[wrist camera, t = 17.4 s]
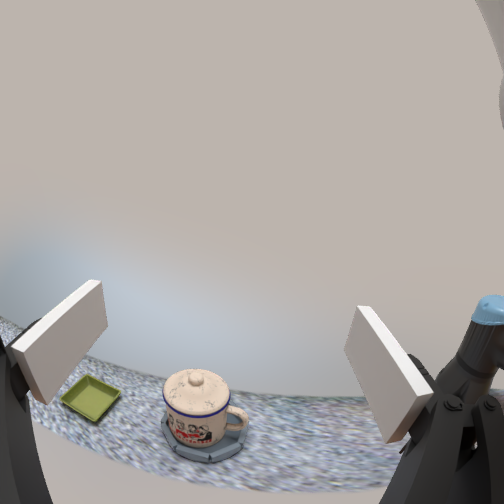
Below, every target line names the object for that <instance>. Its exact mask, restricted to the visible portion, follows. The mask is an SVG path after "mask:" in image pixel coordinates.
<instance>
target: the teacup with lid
mask: <svg viewBox="0 0 504 504" xmlns="http://www.w3.org/2000/svg"><path fill="white" fill-rule="evenodd" d="M163 398H164V401H165V403H166V408H167V415H168V421H169V427H170V431H171V433H172V435H173V436H174V437H175V438H176V439H177V440H178V441H179V442H181V443H182V444H184V445H187V446H190V447H195V448H204V447H209V446H212V445H214V444H216V443H217V442H219V441H220V440H221V439H222V438H223V436H224V434H225V431H226V430H230V431H239V430H242V429H243V428H245V427H246V426H247V424H248V421H249V417H248V414H247V413H246V412H245V411H243V410H242V409H240V408H237V407H234V406H230V405H228V403H229V401H230V390H229V388H228V386H227V384H226V382H225V381H224V380H223V379H222V378H221V377H219V376H218V375H216V374H214V373H212V372H210V371H207V370H202V369H187V370H182V371H179V372H177V373H175V374H173V375H172V376H171V377H170V378H169V379H168V380H167V381H166V383H165V385H164V387H163ZM227 413H230V414H233V415H236V416H238V417H240V418H241V419H242V422H241V423H238V424H232V423H227V422H226V420H227Z"/></svg>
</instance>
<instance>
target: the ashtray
mask: <svg viewBox="0 0 504 504" xmlns="http://www.w3.org/2000/svg"><path fill="white" fill-rule="evenodd" d="M228 405H230V406H234V407H237V408H239V407H238V406H237V405H236V404H235V403H234V402H233V401H230V402H229V403H228ZM226 422H227V423H232V424H238V423H241V422H242V419H241V418H240V417H238V416H236V415H233V414H230V413H227V420H226ZM248 425H249V421H248V424H247V426H246V427H245V428H243V429H242V430H239V431H230V430H226V431H225V434H224V436H223V438H222V439H221V440H220V441H219V442H217V443H216V444H214V445H212V446H209V447H204V448H195V447H190V446H187V445H184V444H182V443H181V442H179V441H178V440H177V439H176V438H175V437H174V436H173V435H172V433H171V431H170V427H169V421H168V415H167V411H166V413H165V414H164V416H163V418H162V419H161V428H162V431H163V433H164V434H165V436H166V439H167V441H168V443H169V445H170V446H171V447H172V449H173V450H174V451H176V452H177V454H180V455H181V456H183V457H185V458H187V459H190V460H192V461H197V462H203V463H211V462H218V461H222V460H225V459H227V458H229V457H231V456H233V455H234V454H236V453H237V452H238V451H240V449H241V448H243V444H244V441H245V437H246V433H247V429H248Z"/></svg>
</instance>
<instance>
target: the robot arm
mask: <svg viewBox="0 0 504 504" xmlns="http://www.w3.org/2000/svg"><path fill="white" fill-rule="evenodd" d="M475 1H476V3H477V5H478V7H479V9H480V11H481V13H482V16H483V18H484V20H485V22H486V25H487V27H488V30H489V32H490V34H491V37H492V39H493V42H494V45H495V48H496V51H497V54H498V57H499V60H500V63H501V67H502V70H503V74H504V0H475ZM499 107H500V115H501V120H502V124H503V128H504V76H503V79H502V82H501V86H500V94H499ZM471 319H472V320H471V323H470V325H469V328H468V330H467V332H466V334H465V336H464V339H463V341H462V343H461V345H460V347H459V349H458V352H457V353H456V355H455V357H454V358H453V359H452V360H451V361H450V362H449V363H448V364H447V365H446V366H445V368H443V369H442V370H441V371H440V372H439V374H438V376H437V377H436V379H435V381H434V380H433V378H432V377H431V375H429V373H428V371H427V370H426V369H424V366H423V365H422V363H421V362H420V361H419V360H418V359H417V358H415V357H414V356H413V355H411V354H406V353H405V351H404V350H403V349H402V347H401V346H400V345H399V343H398V342H397V341H396V339H395V338H394V337H393V335H392V334H391V333H390V331H389V330H388V329H387V327H386V326H385V325H384V324H383V322H382V321H381V320H380V319H379V317H378V316H377V315H376V313H375V312H374V311H373V310H372V308H371V307H370V306H357V307H356V311H355V315H354V318H353V322H352V325H351V328H350V332H349V335H348V339H347V341H346V345H345V348H344V351H345V353H346V355H347V357H348V360H349V362H350V364H351V366H352V368H353V370H354V373H355V375H356V377H357V379H358V381H359V384H360V386H361V388H362V390H363V393H364V395H365V397H366V399H367V402H368V404H369V406H370V409H371V411H372V413H373V416H374V418H375V420H376V423H377V425H378V427H379V430H380V432H381V435H382V437H383V439H384V442H385V444H388V443H392V442H396V441H401V440H402V439H403V437H404V436H405V435H406V433H407V432H409V434H410V436H411V438H410V440H409V441H408V442H407V443H406V445H405V446H404V447H403V448H402V449H401V451H400V452H399V453H400V454H401V453H402V452H403V451H404V453H403V455H402V457H401V460H400V462H399V464H398V467H397V469H396V471H395V473H394V475H393V477H392V479H391V482H390V484H389V486H388V488H387V489H386V491H385V494H384V495H383V497H382V499H381V501H380V503H379V504H504V416H503V412H502V409H501V406H500V404H499V402H498V401H497V400H496V398H495V397H493V396H490V395H488V393H489V390H490V387H491V384H492V381H493V377H494V376H495V374H496V372H497V370H498V369H499V368H501V369H503V370H504V296H500V295H488V296H485V297H483V298H482V299H481V300H480V301H479V303H478V305H477V307H476V310H475V312H474V314H473V315H472V318H471ZM107 327H108V323H107V317H106V311H105V304H104V297H103V289H102V282H101V281H97V280H91V279H90V280H89V281H87V282H86V283H85V284H83V285H82V286H81V287H80V288H78V289H77V290H76V291H75V292H73V293H72V294H71V295H70V296H68V297H67V298H66V299H65V300H64V301H62V302H61V303H60V304H59V305H57V306H56V307H55V308H54V309H53V310H51V311H50V312H49V313H48V314H47V315H46V316H44V317H43V318H40V319H38V320H36V321H34V322H33V323H32V324H30V325H29V326H28V327H27V329H25V330H24V331H23V332H22V333H20V334H19V335H18V336H17V337H16V338H15V339H14V340H13V341H11V342H10V343H9V344H8V345H7V346H6V347H4V344H3V341H2V339H1V336H0V504H53V502H52V499H51V497H50V494H49V491H48V488H47V485H46V482H45V478H44V475H43V472H42V468H41V465H40V461H39V456H38V453H37V448H36V443H35V438H34V433H33V427H32V420H31V413H30V405H29V399H28V396H27V394H26V393H27V392H28V391H29V390H30V391H31V393H32V395H33V397H34V398H35V400H37V401H39V402H41V403H43V404H45V405H47V406H48V405H49V403H50V402H51V400H52V399H53V397H54V396H55V395H56V393H57V392H58V390H59V389H60V388H61V386H62V385H63V384H64V382H65V381H66V379H67V378H68V377H69V375H70V374H71V373H72V371H73V370H74V369H75V367H76V366H77V365H78V363H79V362H80V361H81V360H82V358H83V357H84V356H85V354H86V353H87V352H88V351H89V349H90V348H91V347H92V345H93V344H94V343H95V342H96V340H97V339H98V338H99V337H100V335H101V334H102V333H103V331H104V330H105V329H106V328H107ZM476 442H477V448H476V449H475V446H474V444H475V443H476Z"/></svg>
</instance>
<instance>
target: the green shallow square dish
mask: <svg viewBox="0 0 504 504" xmlns="http://www.w3.org/2000/svg"><path fill="white" fill-rule="evenodd" d="M120 393H121V391H120V390H119V389H117V388H114V387H112V386H110V385H108V384H106V383H104V382H102V381H100V380H98V379H96V378H94V377H92V376H91V375H89V374H86V375H84V376H83V377H82V378H81V379H80V380H79V381H78V382H76V383H75V384H74V385H73V386H72V387H71V388H70V389H69V390H68V391H67V392H66V393H64V394H63V395H62V396H61V397H60V401H62V402H63V403H65V404H66V405H68V406H69V407H71V408H72V409H74V410H75V411H77V412H79V413H80V414H82V415H83V416H85V417H87V418H88V419H90V420H92V421H94V422H96V421H97V420H98V419H99V418H100V417H101V416H102V414H103V413H104V412H105V411H106V410H107V409H108V408H109V407H110V405H111V404H112V403H113V402H114V401H115V400H116V399H117V398H118V396H119V395H120Z"/></svg>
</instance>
